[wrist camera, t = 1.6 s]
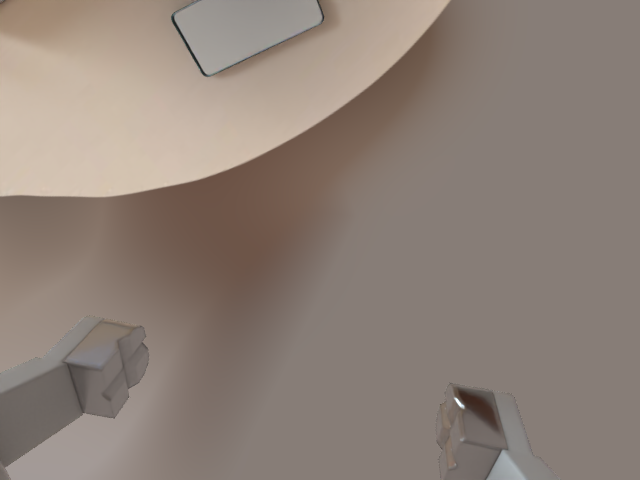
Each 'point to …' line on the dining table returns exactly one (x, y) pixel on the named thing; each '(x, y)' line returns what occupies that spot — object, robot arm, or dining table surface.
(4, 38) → the dining table surface
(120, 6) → the dining table surface
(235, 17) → the smartphone
